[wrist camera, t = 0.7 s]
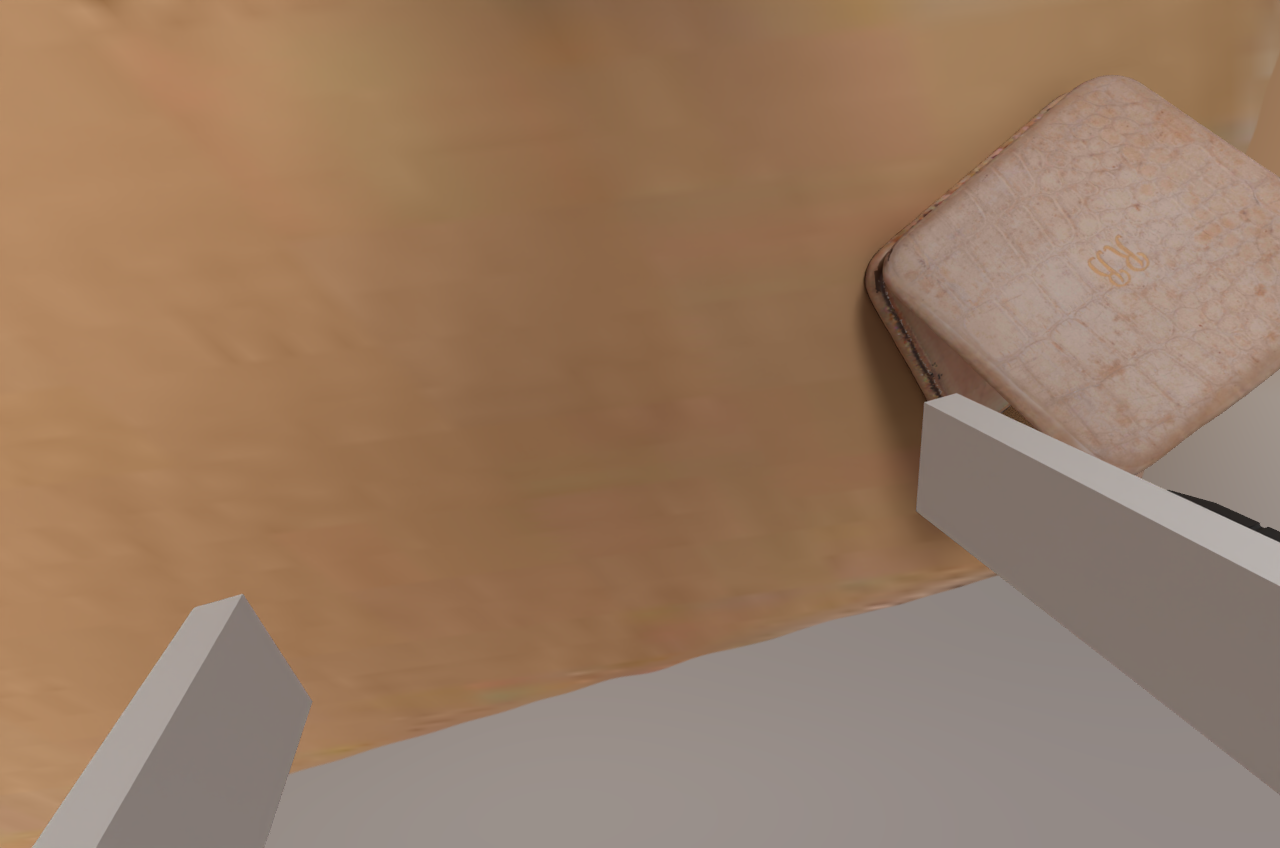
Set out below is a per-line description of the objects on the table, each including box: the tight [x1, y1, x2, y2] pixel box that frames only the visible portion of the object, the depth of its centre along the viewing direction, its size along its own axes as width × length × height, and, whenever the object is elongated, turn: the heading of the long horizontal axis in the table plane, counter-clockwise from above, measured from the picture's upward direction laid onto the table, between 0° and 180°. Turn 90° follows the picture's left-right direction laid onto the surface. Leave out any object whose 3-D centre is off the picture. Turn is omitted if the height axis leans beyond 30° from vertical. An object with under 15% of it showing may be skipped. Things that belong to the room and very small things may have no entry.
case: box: [865, 75, 1280, 475], centre depth 37 cm, size 20×21×16 cm
